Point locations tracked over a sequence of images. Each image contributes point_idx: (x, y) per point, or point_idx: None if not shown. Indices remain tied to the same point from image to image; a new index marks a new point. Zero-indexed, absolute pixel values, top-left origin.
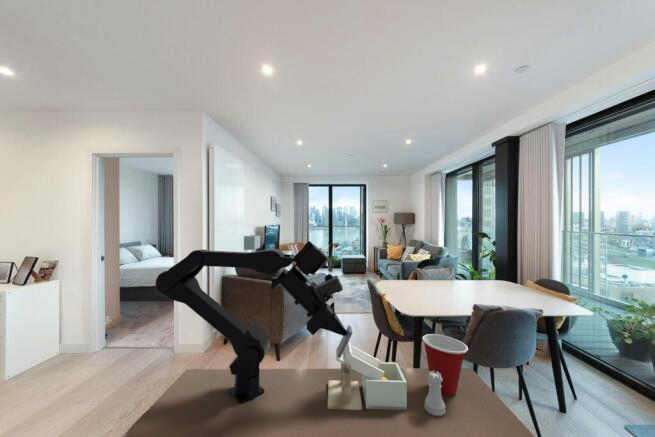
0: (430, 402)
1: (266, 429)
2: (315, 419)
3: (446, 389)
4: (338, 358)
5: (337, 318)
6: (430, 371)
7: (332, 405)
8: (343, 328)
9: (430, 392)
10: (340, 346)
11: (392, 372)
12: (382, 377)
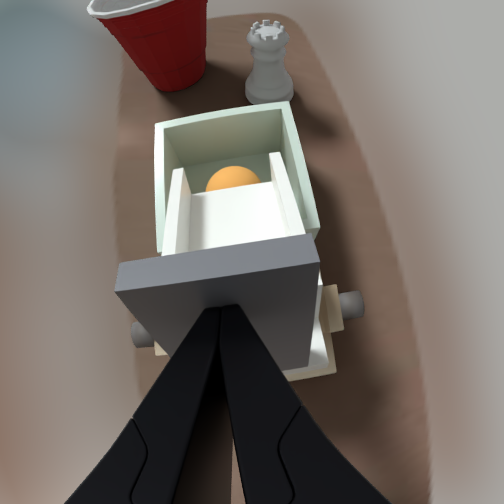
0: (282, 87)
1: (425, 481)
2: (383, 392)
3: (205, 60)
4: (325, 356)
5: (186, 457)
6: (257, 33)
7: (333, 357)
8: (261, 341)
9: (276, 71)
10: None
11: (172, 154)
12: (231, 179)
